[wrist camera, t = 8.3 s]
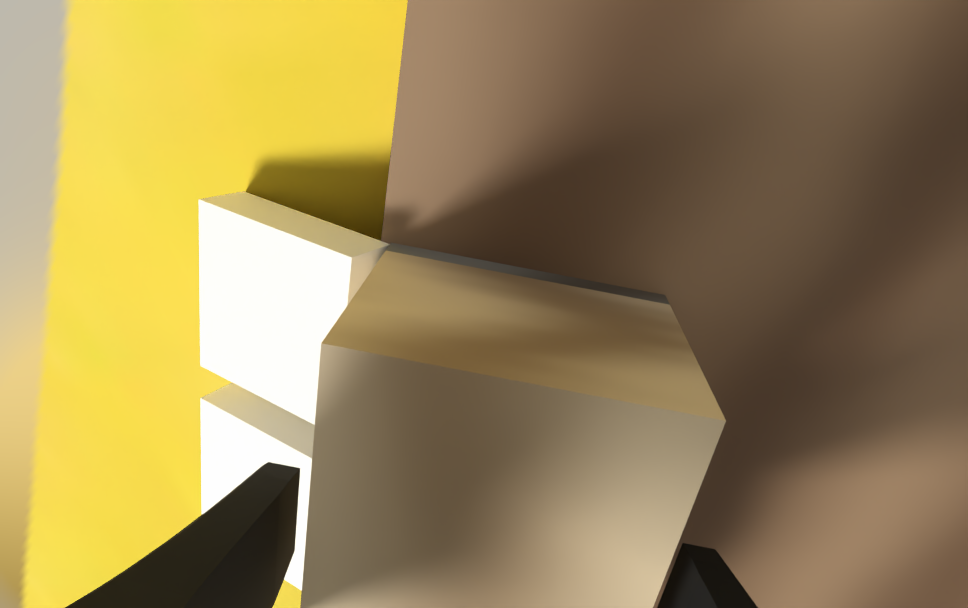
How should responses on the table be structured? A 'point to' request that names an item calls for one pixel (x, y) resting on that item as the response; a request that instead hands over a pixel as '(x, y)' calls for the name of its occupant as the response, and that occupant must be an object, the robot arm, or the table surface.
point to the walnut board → (738, 245)
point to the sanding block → (501, 441)
